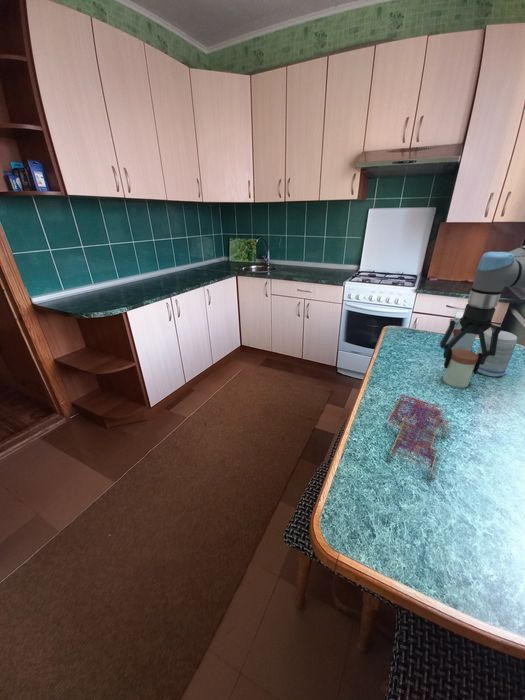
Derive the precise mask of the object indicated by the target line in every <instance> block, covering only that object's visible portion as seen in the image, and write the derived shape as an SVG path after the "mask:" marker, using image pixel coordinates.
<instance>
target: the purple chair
mask: <svg viewBox="0 0 525 700" xmlns="http://www.w3.org/2000/svg"><path fill="white" fill-rule="evenodd" d="M444 408H445V407H444V405H443V404H439V403H437V404H436V403H432V402H429V401H425V400H423V399H421V398H420V399H419V398H416V397H414V396H411V395H407V394H404V393H401V394H400V396H399V398H398V400H397V402H396V404H395V406H394V407H393V408H392V410H391V412H390V414H389V415H388V418H387V419H386V421H385V424H386V425H387V426H389V427H392V428H395V429H398V430H399V431H398V433H397V436H396V438H395V439H394V440H395V441H393V445H392V446H391V449H390V450H389V452H388V453H389V454H388V458H387V461H390V457H391V456H394V457H397V458H399V459H401V460H402V461H406V462H407V463H410V464H411V465H412V464H413V465H415V466H417V467H419V468H422V469H424V470H426V471H428V472H429V473H428V475H427V477H428V479H430V478H432V479H434V480H438V477H439V472H440V471H439V470H440V469H441V466H442V463H441V462H442V461H443V456H444V452H445V450H444V449H442V448H439V445H440V441H441V440H440V439H441V438H444V436H447V437H451V436H452V434H451V433H452V432H453V427H454V422H455V421H454V420H452V419H449V418H447V416H448V412H449V411H448V410H446V409H444ZM399 417H400V418H399ZM390 422H391V423H390ZM397 425H399V426H397ZM446 433H447V434H446ZM398 450H399V451H398ZM405 450H406V451H405ZM394 452H395V454H394ZM439 453H440V454H439ZM397 454H400V456H399V455H397ZM408 454H409V455H408ZM402 456H403V457H402ZM420 456H421V457H420ZM440 456H441V457H440ZM404 457H405V458H404ZM437 457H438V458H437ZM407 458H409V459H410V460H408V459H407ZM440 459H441V460H440ZM412 460H414V461H415V462H412ZM432 461H433V462H432ZM416 462H418V463H420V464H417V463H416ZM429 463H430V464H429ZM421 464H422V465H423V464H424V466H425V467H424V466H421ZM431 464H432V465H431ZM427 466H428V467H429V468H427ZM434 470H435V471H434ZM436 471H437V472H436ZM431 475H432V476H431Z"/></svg>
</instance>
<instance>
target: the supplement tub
mask: <svg viewBox="0 0 525 700" xmlns="http://www.w3.org/2000/svg"><path fill="white" fill-rule="evenodd" d="M491 336H492V330H491V329H487V330H486V331H484V337H485V343H486V348H487V351H488V350H489V349H490V342H491ZM517 341H518V336H517V335H516V334H513V333H512V332H508V331H505V330H501V331H500V333H499V334H498V340H497V347H496V353H495V355H494V356H488V357H487V358H486V360H485V362H484V364H483V365H481V364H480V365H479V368H478V371H477V373H480V374H482V375H484V376H488V377H502V376H503V375H505V373H506V370H507V367H508V366H509V363H510V361H511V358H512V355H513V353H514V350H515V349H516V348H515V347H516V345H517ZM478 353H482V350H481V345H480V344H479V346H478V350H477V352H476V354H477V355H478Z"/></svg>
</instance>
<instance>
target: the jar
mask: <svg viewBox="0 0 525 700" xmlns="http://www.w3.org/2000/svg"><path fill="white" fill-rule="evenodd" d="M475 365H476V364H463V363H459V362H456V361H454V360H452V359H451V358H450V360H449V363H448V366H447V368H445V370H444V374H443V376H442V377H443V378H442V381H443V382H444V383H445V384H447V385H449V386H450V387H454V388H459V389H463V388H467V387H468V386H469V385H470V381H471V378H472V377H473V374H474V373H473V371H474V368H475Z"/></svg>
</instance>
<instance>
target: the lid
mask: <svg viewBox="0 0 525 700" xmlns="http://www.w3.org/2000/svg"><path fill="white" fill-rule="evenodd" d="M450 358H451V359H452V360H454V361H456V362H459V363H463V364H476V363H477V361H478V358H479V356H478V355H477V352H474V351H472V350H471V351H469V350H465V349H453V350H452V354H451V357H450Z"/></svg>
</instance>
